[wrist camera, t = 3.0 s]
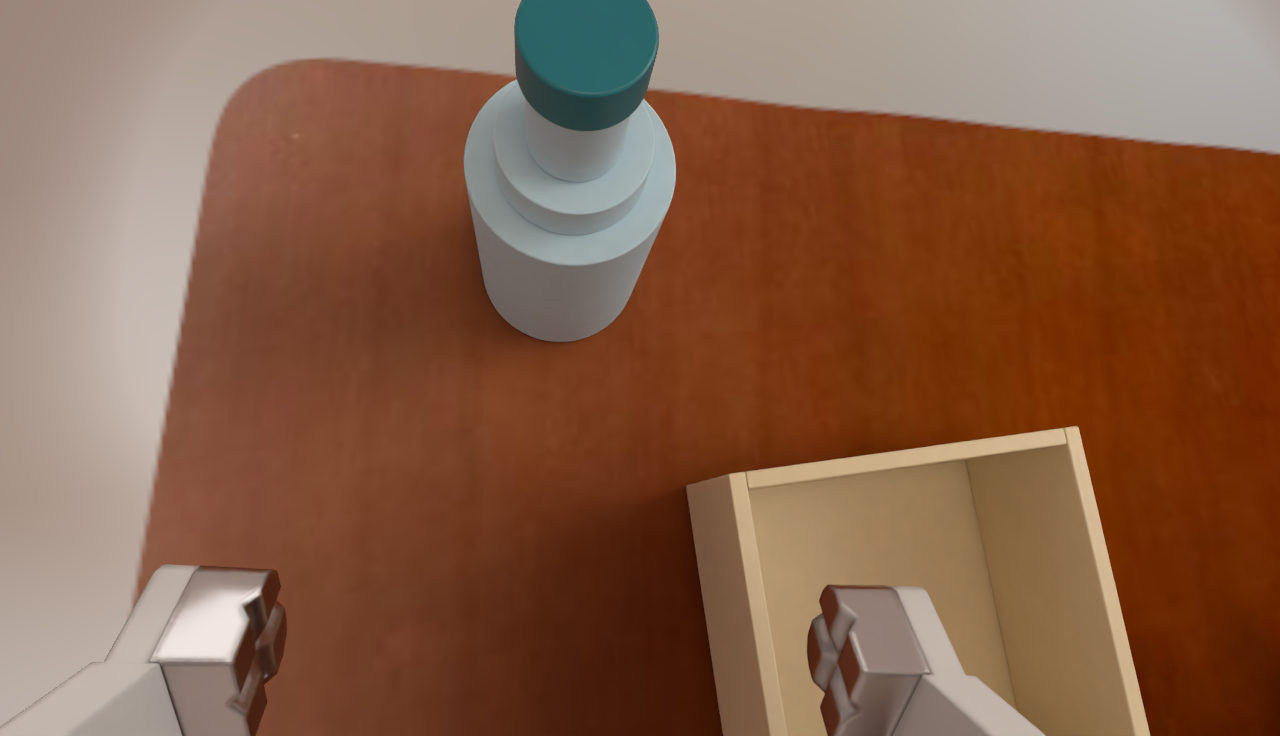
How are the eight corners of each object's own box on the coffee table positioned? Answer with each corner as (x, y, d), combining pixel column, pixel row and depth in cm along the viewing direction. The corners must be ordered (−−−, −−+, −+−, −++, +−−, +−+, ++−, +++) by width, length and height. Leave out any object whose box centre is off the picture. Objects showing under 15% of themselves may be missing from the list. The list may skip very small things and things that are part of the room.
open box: (734, 812, 28) (795, 897, 21) (685, 485, 30) (728, 474, 23) (1031, 752, 29) (1169, 814, 23) (967, 446, 31) (1079, 425, 25)
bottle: (491, 350, 30) (454, 176, 15) (475, 203, 30) (425, -95, 16) (644, 333, 30) (750, 154, 16) (623, 191, 31) (706, -102, 17)
